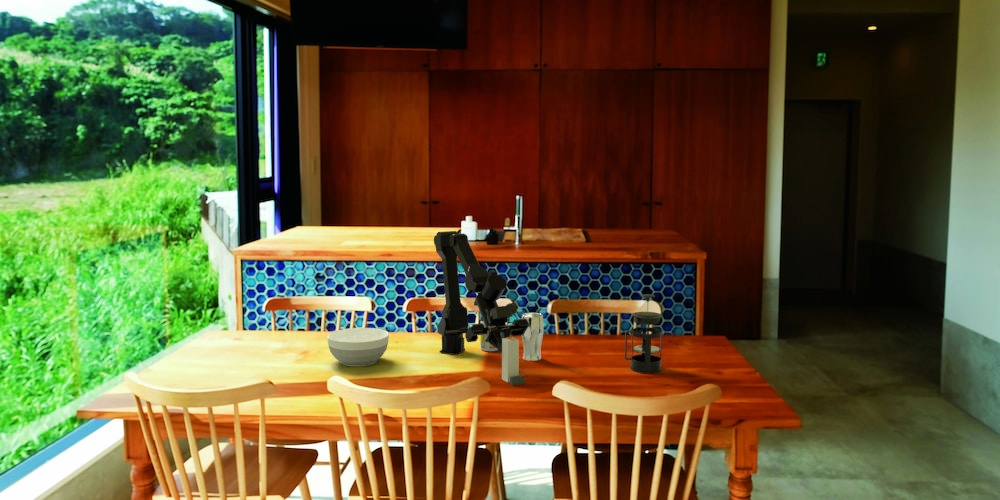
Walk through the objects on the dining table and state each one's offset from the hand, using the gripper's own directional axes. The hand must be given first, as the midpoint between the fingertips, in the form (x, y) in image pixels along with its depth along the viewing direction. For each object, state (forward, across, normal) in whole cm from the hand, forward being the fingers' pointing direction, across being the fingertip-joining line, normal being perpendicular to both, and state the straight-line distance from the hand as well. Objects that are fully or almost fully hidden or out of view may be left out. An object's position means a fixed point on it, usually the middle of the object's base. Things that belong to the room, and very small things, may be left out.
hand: (506, 354), depth 238 cm
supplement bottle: (-18, +12, +30) cm, 38 cm away
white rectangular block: (+6, 0, +4) cm, 7 cm away
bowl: (-22, -31, +34) cm, 51 cm away
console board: (+4, 0, +8) cm, 8 cm away
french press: (+11, +44, +1) cm, 45 cm away
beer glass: (-5, +17, +17) cm, 25 cm away
